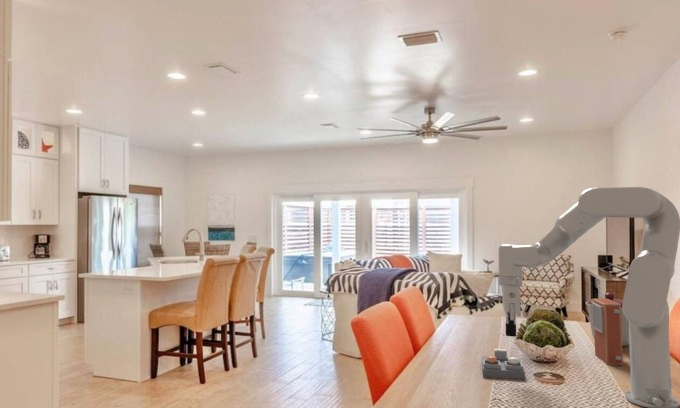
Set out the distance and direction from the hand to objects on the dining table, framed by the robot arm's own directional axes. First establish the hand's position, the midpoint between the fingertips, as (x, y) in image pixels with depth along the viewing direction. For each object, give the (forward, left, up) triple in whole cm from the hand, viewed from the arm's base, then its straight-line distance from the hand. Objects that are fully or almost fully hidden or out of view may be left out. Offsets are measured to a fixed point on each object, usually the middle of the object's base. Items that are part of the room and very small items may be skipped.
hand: (510, 335), depth 157 cm
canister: (+52, -44, -13) cm, 69 cm away
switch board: (+3, +3, -13) cm, 14 cm away
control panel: (+26, -36, -13) cm, 46 cm away
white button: (0, -1, -9) cm, 9 cm away
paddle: (+9, +3, -10) cm, 14 cm away
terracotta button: (0, +6, -9) cm, 11 cm away
